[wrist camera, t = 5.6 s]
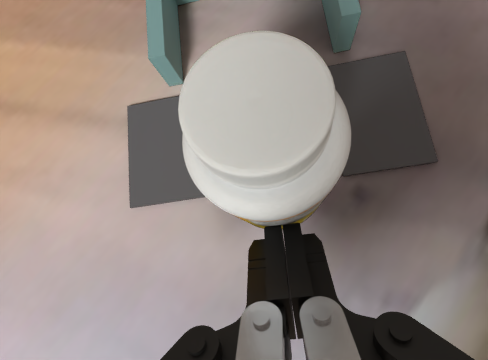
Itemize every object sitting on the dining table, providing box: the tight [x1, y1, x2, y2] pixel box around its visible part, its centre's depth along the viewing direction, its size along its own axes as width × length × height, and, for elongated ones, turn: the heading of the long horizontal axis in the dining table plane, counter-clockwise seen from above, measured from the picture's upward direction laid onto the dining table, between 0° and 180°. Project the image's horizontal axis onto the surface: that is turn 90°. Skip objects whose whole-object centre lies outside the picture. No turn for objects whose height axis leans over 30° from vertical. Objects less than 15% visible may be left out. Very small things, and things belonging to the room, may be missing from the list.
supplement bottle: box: [178, 31, 351, 229], centre depth 12 cm, size 6×6×10 cm
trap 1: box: [327, 51, 438, 176], centre depth 17 cm, size 5×7×1 cm
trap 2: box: [127, 96, 205, 208], centre depth 18 cm, size 5×7×1 cm
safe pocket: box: [146, 0, 361, 86], centre depth 18 cm, size 12×8×3 cm, turn 97°
